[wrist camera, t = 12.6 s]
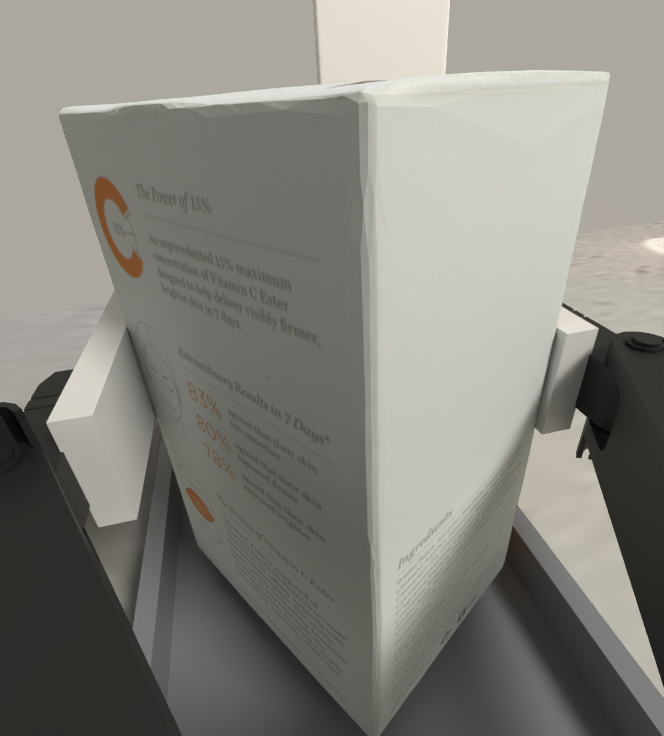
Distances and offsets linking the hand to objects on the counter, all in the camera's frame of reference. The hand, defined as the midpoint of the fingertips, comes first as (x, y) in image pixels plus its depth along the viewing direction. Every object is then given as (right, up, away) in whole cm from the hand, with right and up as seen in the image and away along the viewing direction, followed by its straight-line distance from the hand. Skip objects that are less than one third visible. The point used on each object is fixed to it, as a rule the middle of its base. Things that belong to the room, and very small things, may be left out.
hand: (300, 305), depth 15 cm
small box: (+1, -8, 0) cm, 8 cm away
